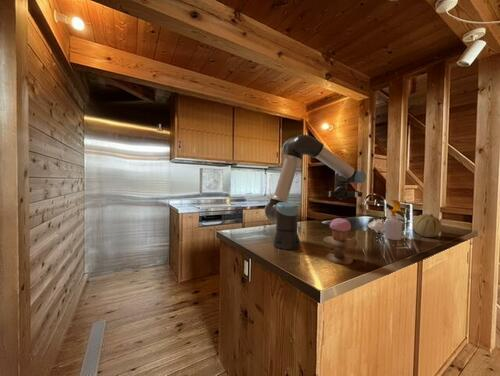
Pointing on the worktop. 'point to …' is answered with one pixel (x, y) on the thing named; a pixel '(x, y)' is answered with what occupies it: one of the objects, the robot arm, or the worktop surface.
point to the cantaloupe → (427, 225)
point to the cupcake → (340, 229)
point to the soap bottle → (393, 224)
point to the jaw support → (377, 225)
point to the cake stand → (339, 250)
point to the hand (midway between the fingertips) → (343, 194)
